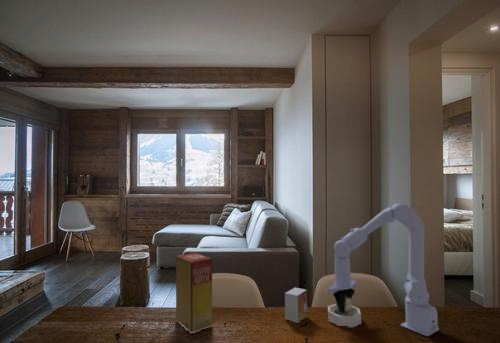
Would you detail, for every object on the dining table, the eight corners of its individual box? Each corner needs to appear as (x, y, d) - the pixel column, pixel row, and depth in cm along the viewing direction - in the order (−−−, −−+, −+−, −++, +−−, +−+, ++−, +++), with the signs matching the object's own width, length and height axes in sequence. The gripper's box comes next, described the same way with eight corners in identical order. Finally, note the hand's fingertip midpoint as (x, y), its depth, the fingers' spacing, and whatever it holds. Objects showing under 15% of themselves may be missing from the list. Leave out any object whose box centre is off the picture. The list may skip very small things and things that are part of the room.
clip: (353, 317, 114) (353, 309, 114) (343, 321, 110) (343, 313, 111) (344, 313, 117) (344, 306, 117) (334, 317, 114) (334, 309, 114)
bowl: (367, 321, 112) (366, 311, 112) (346, 330, 106) (346, 319, 106) (342, 310, 122) (341, 301, 122) (321, 318, 115) (321, 308, 115)
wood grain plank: (351, 318, 112) (350, 297, 113) (347, 319, 111) (346, 299, 111) (340, 313, 116) (339, 294, 117) (336, 315, 115) (336, 295, 116)
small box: (298, 325, 110) (297, 295, 111) (285, 321, 114) (284, 292, 114) (308, 317, 117) (307, 289, 117) (295, 313, 120) (294, 286, 120)
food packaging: (214, 326, 110) (213, 257, 111) (190, 335, 104) (190, 262, 105) (196, 314, 120) (195, 251, 121) (174, 322, 115) (174, 255, 116)
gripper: (346, 267, 122) (347, 301, 121) (321, 273, 114) (322, 310, 113) (361, 271, 116) (362, 307, 115) (336, 278, 108) (337, 316, 107)
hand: (343, 309), depth 114 cm, fingers closed on wood grain plank, 2 cm apart
